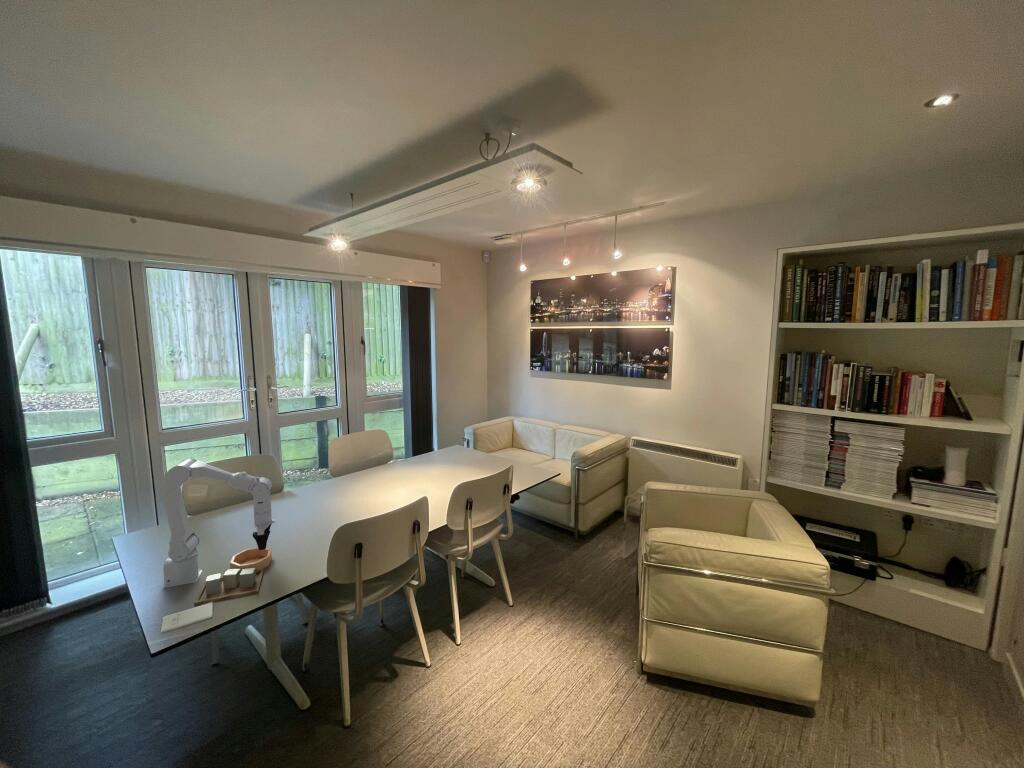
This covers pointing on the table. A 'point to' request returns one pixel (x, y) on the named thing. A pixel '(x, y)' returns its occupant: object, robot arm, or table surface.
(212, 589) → the stone
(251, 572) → the stone
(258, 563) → the bowl
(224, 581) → the stone
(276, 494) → the table surface
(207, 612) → the external hard drive
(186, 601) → the table surface
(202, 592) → the tray
